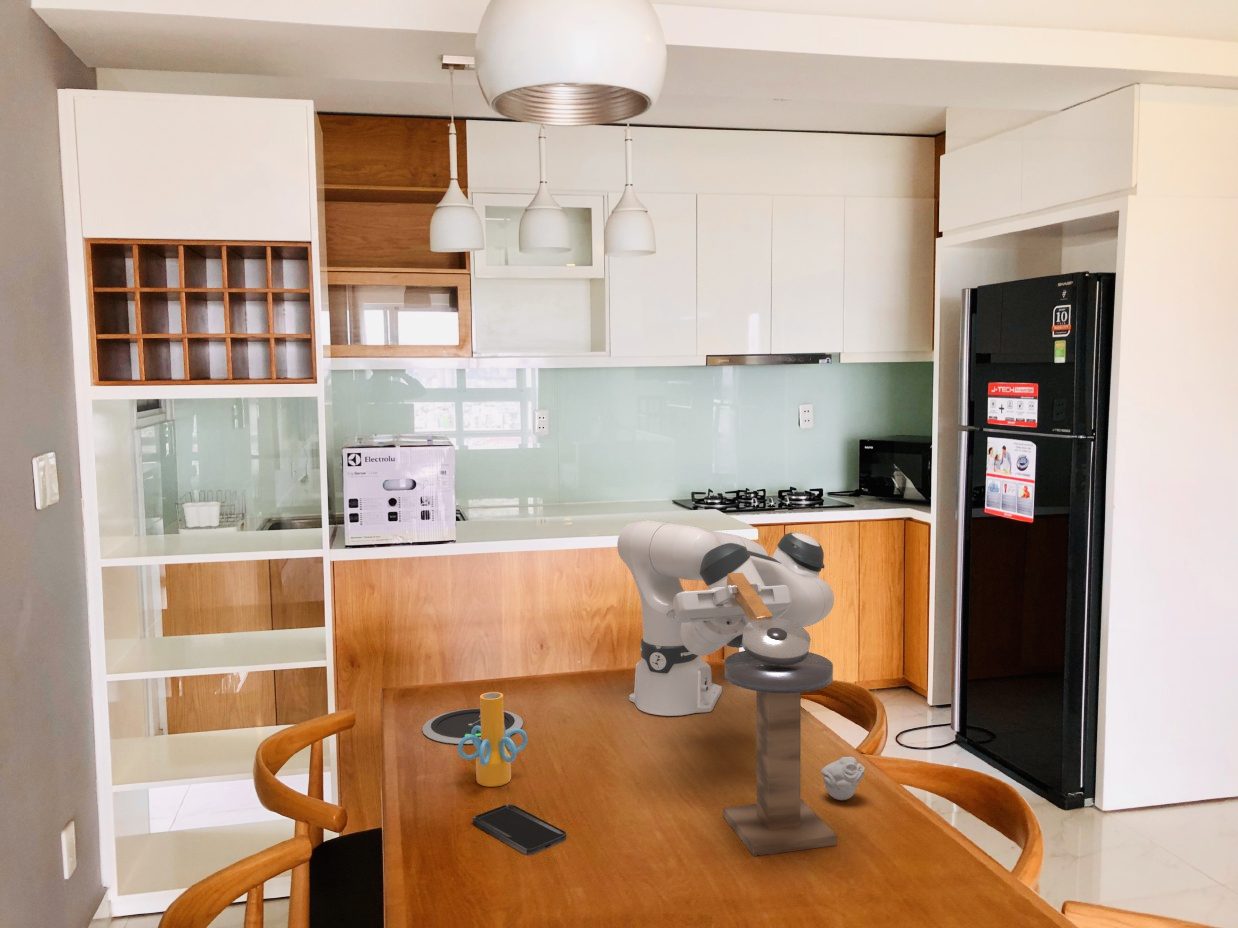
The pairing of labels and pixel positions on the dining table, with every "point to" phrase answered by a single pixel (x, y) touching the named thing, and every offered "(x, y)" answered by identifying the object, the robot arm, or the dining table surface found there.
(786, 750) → the pedestal
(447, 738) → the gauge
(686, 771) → the dining table surface
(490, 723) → the cylinder
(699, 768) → the dining table surface
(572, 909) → the dining table surface
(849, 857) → the dining table surface
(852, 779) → the frog figurine
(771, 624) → the cover
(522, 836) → the phone
